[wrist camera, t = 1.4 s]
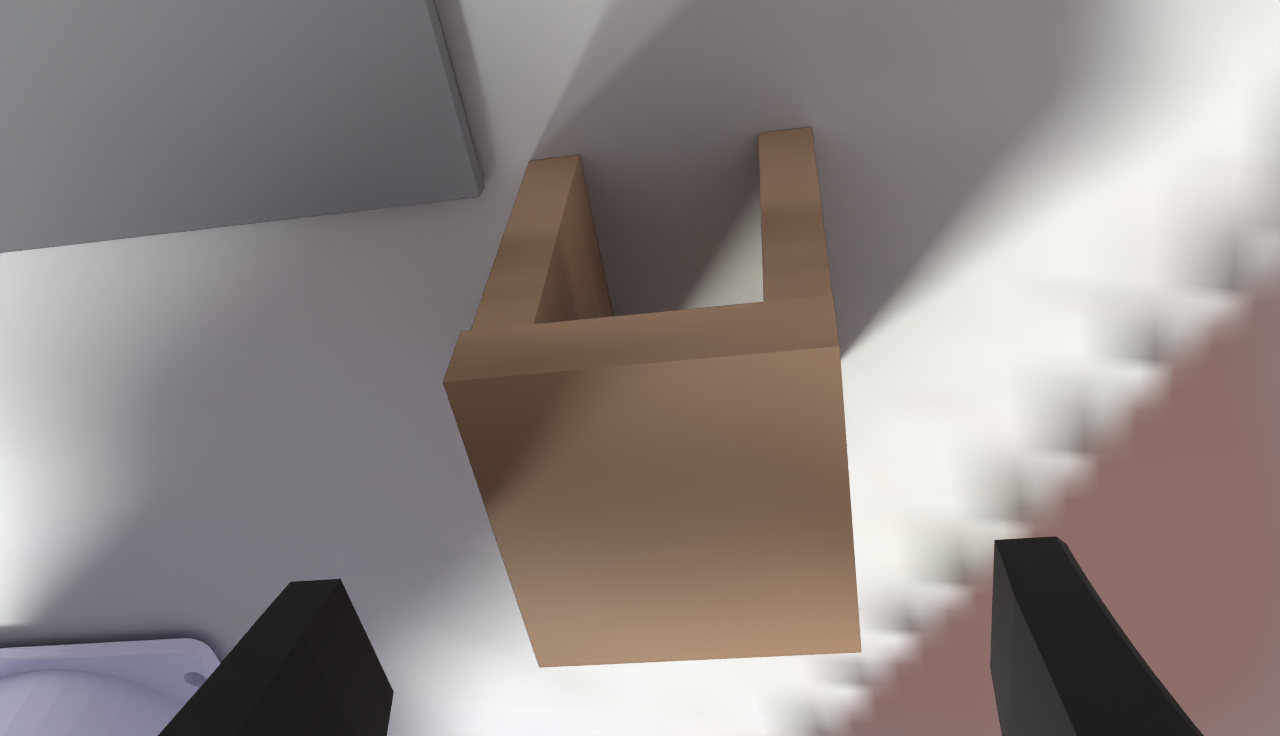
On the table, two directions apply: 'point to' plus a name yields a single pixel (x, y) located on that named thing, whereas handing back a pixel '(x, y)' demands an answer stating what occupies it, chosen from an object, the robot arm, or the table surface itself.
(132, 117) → the mat
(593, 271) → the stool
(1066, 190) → the table surface
